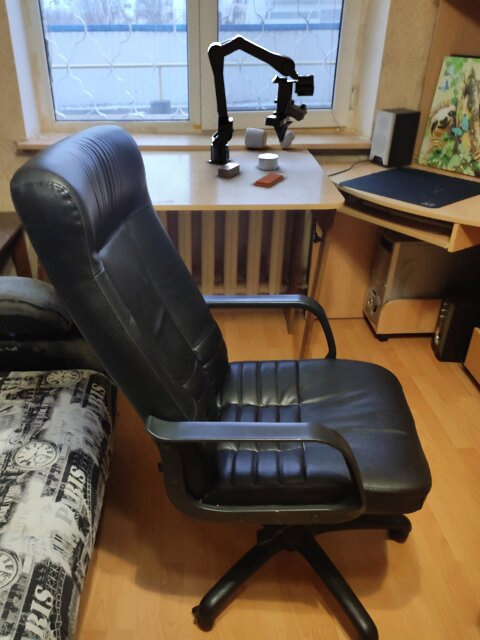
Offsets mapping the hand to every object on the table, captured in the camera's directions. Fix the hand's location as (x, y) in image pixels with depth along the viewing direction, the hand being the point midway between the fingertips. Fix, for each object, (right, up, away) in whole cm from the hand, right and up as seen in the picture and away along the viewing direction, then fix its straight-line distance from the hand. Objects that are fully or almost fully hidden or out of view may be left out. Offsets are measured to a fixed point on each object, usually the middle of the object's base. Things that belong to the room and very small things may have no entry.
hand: (281, 141), depth 209 cm
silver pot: (-5, -11, -3) cm, 12 cm away
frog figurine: (+5, +5, +19) cm, 20 cm away
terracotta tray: (-7, -21, -17) cm, 28 cm away
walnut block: (-21, -16, -9) cm, 28 cm away
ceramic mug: (-8, +7, +21) cm, 24 cm away
